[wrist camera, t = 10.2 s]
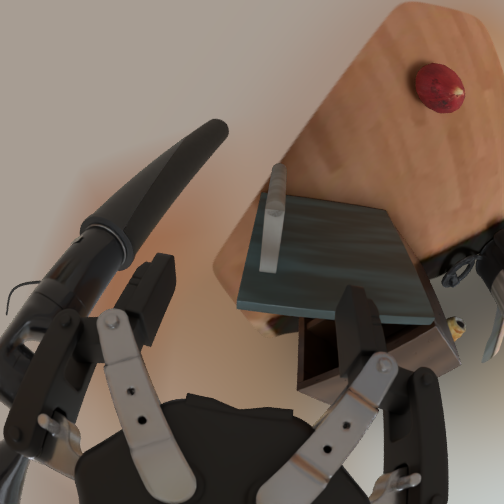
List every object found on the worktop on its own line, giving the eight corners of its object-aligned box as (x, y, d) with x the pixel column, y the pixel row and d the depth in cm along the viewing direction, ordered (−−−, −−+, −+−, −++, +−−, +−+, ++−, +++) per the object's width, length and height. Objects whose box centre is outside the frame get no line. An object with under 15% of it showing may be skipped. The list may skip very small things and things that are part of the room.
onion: (427, 116, 25) (460, 132, 19) (396, 83, 24) (425, 89, 18) (452, 87, 22) (488, 98, 16) (422, 53, 21) (456, 54, 14)
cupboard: (299, 279, 44) (296, 390, 29) (387, 216, 35) (435, 326, 20) (342, 315, 48) (350, 413, 33) (422, 265, 39) (461, 364, 24)
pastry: (438, 343, 51) (442, 356, 48) (421, 338, 50) (425, 352, 47) (466, 318, 45) (471, 332, 42) (450, 311, 44) (456, 326, 41)
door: (265, 142, 31) (239, 223, 16) (398, 165, 30) (473, 256, 15) (260, 199, 36) (236, 309, 21) (383, 216, 35) (430, 325, 20)
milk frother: (514, 254, 34) (549, 310, 22) (458, 302, 43) (483, 364, 31) (495, 208, 30) (545, 268, 18) (430, 268, 39) (461, 339, 27)
